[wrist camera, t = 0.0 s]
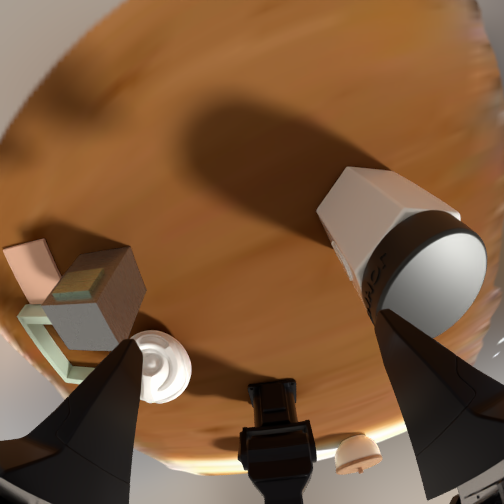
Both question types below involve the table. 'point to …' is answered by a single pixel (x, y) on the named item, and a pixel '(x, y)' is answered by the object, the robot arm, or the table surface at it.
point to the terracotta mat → (33, 269)
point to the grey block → (96, 300)
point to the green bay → (50, 344)
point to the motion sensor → (162, 366)
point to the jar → (403, 248)
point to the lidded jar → (356, 455)
